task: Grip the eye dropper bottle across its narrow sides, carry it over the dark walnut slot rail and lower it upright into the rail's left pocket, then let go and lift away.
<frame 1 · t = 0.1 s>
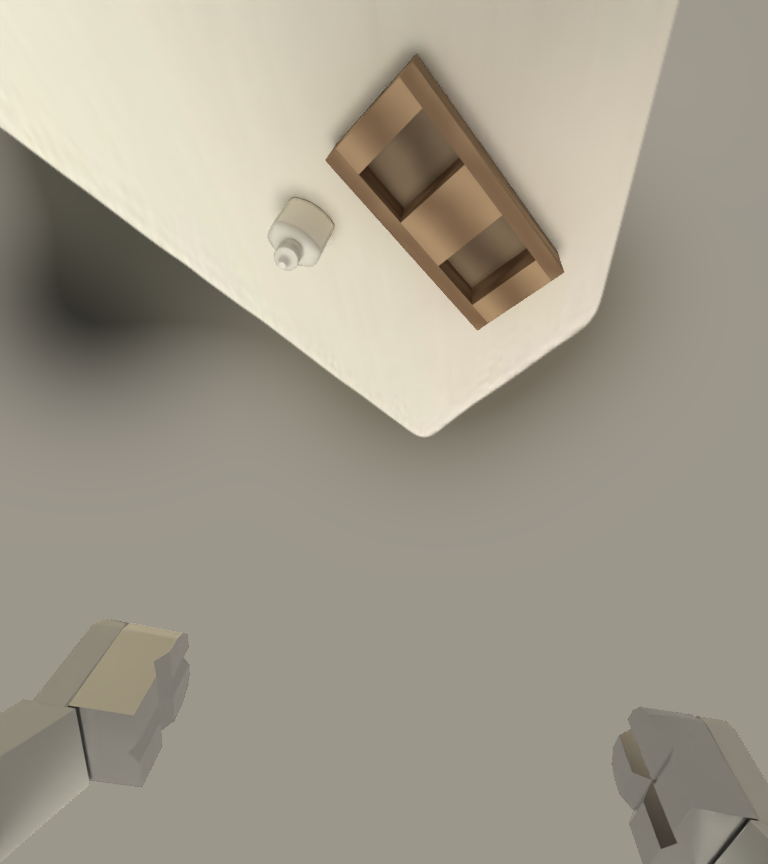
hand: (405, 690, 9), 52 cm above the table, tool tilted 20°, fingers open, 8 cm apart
walnut slot rail: (451, 201, 52), on the table
eye dropper bottle: (310, 217, 55), on the table
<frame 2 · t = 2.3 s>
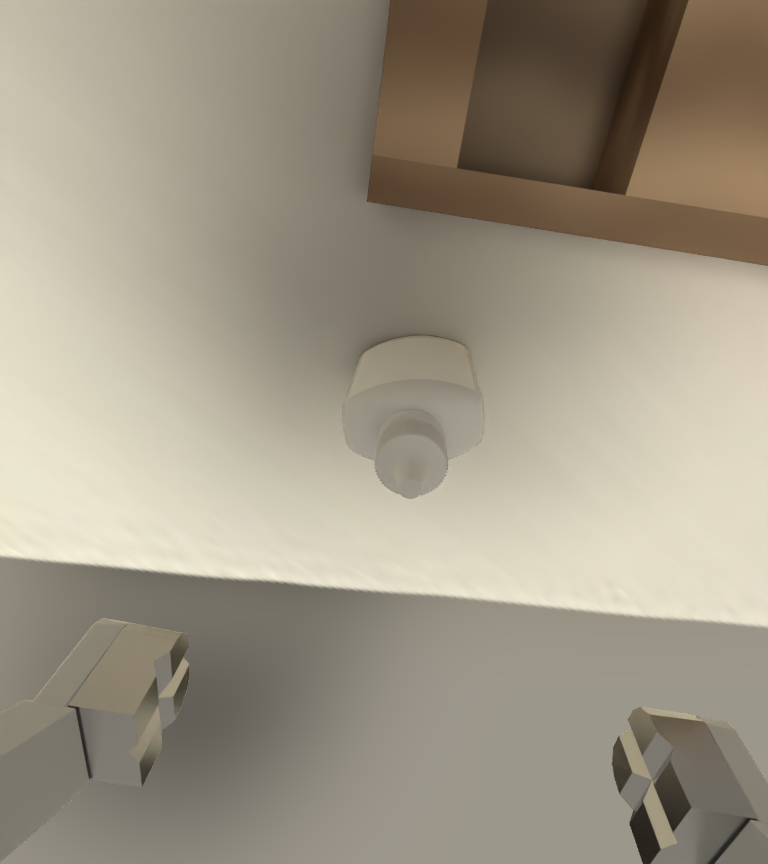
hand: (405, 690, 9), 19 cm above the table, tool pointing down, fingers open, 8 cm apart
walnut slot rail: (687, 99, 20), on the table
eye dropper bottle: (415, 365, 26), on the table
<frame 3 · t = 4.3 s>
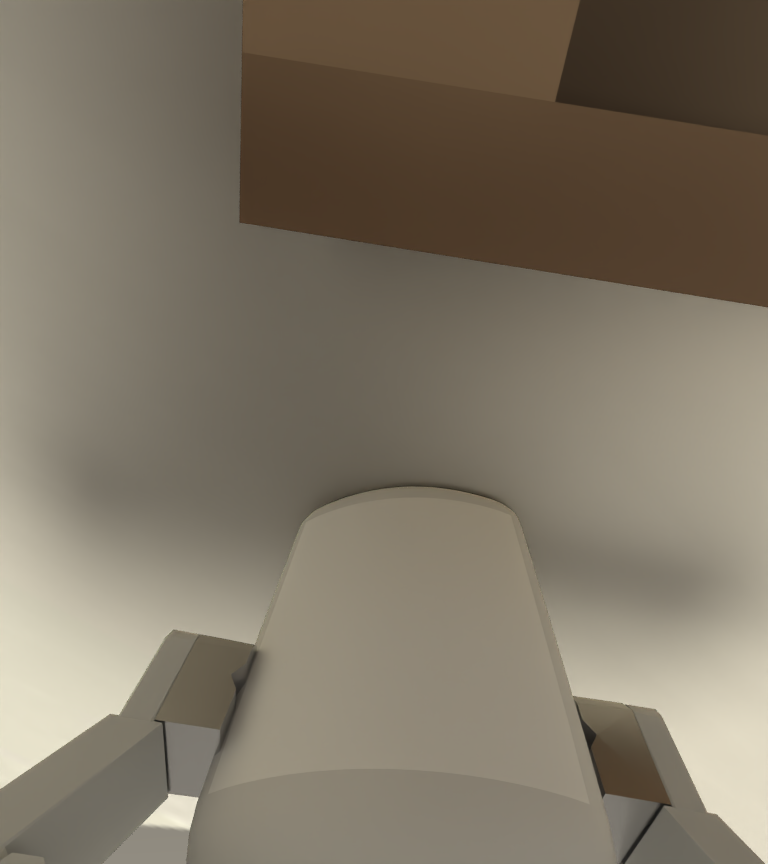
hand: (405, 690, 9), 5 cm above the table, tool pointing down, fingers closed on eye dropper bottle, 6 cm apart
eye dropper bottle: (410, 533, 13), on the table, touching gripper
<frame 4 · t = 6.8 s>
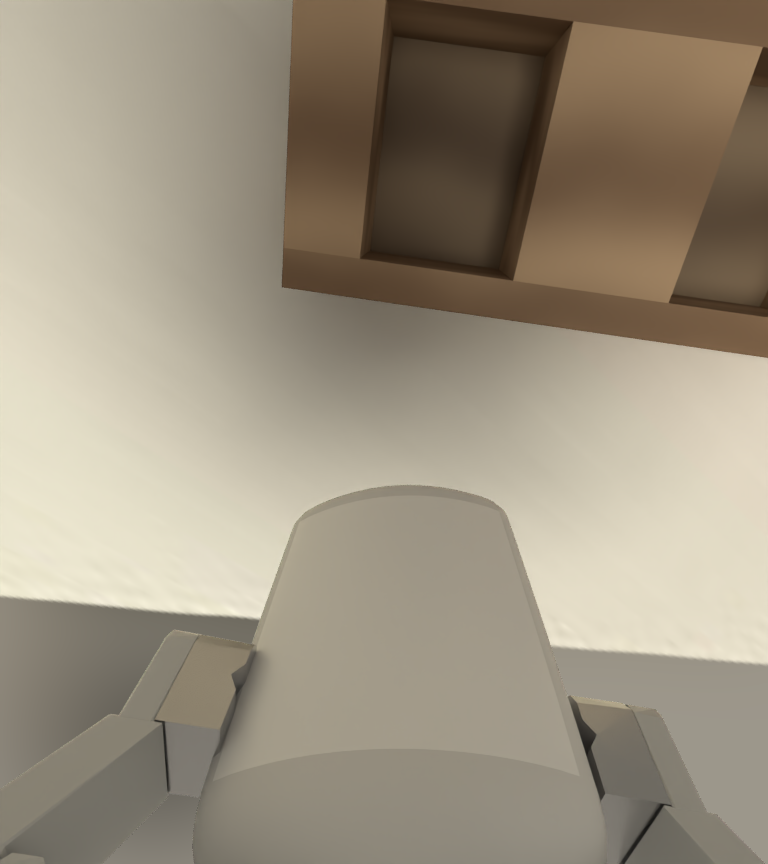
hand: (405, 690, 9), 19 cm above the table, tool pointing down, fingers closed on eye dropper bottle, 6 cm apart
walnut slot rail: (583, 182, 22), on the table
eye dropper bottle: (401, 531, 13), point 14 cm above the table, touching gripper
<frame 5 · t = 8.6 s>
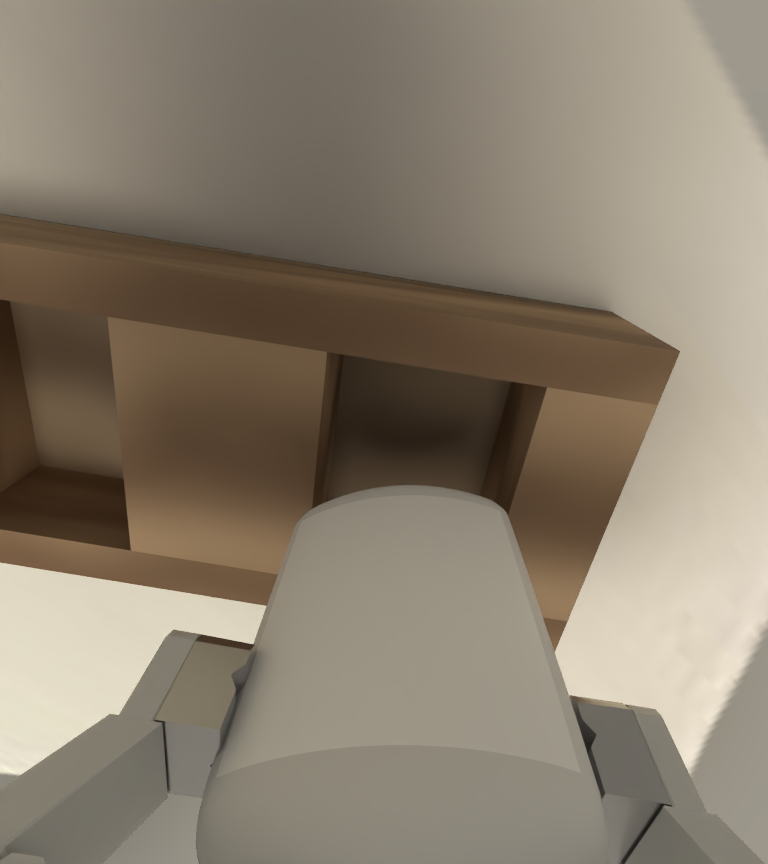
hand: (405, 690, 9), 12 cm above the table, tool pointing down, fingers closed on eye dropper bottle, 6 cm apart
walnut slot rail: (265, 402, 19), on the table
eye dropper bottle: (402, 531, 14), point 7 cm above the table, touching gripper
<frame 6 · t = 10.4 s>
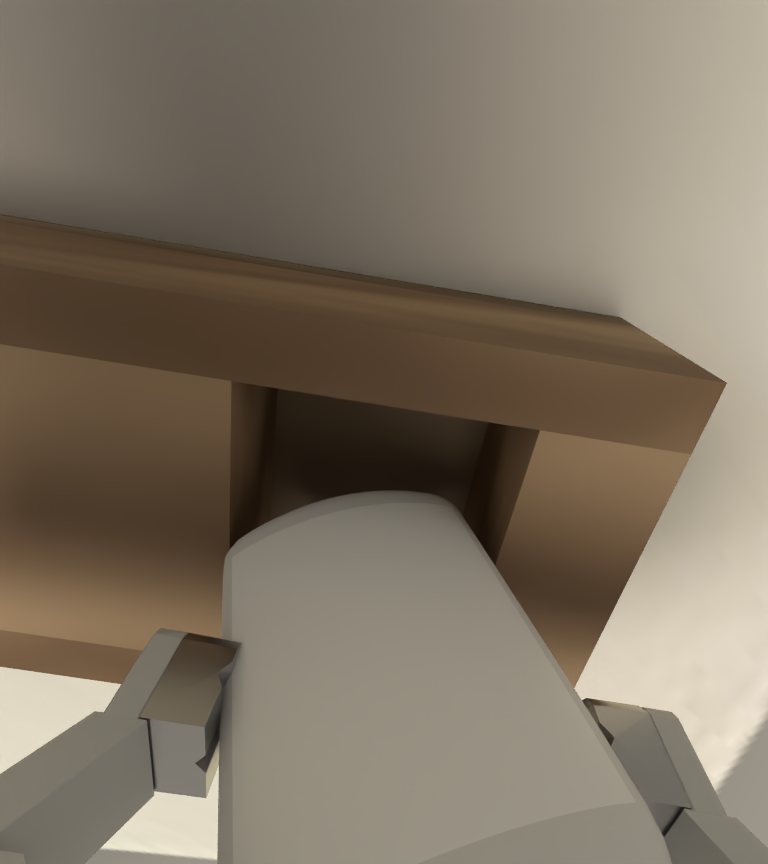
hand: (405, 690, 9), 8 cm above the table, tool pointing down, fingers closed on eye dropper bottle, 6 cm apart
walnut slot rail: (187, 427, 15), on the table
eye dropper bottle: (344, 541, 12), point 4 cm above the table, touching gripper, walnut slot rail
when the fingers open (8 cm above the table, at t = 10.4 s): eye dropper bottle drops 3 cm, resting on walnut slot rail.
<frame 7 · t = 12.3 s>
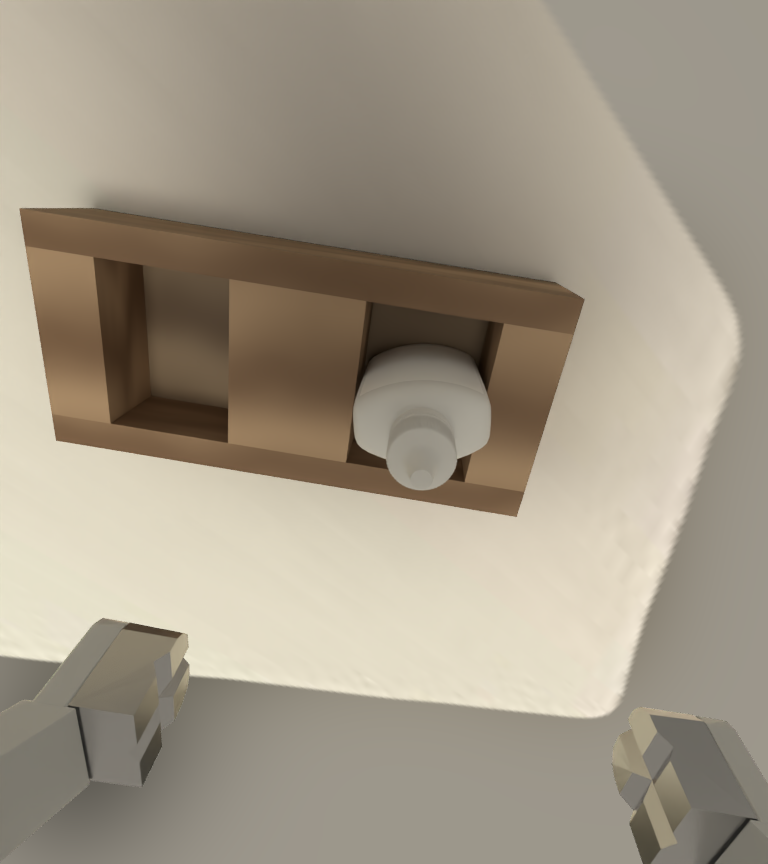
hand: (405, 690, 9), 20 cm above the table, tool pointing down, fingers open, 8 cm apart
walnut slot rail: (314, 349, 27), on the table
eye dropper bottle: (421, 373, 26), point 1 cm above the table, touching walnut slot rail
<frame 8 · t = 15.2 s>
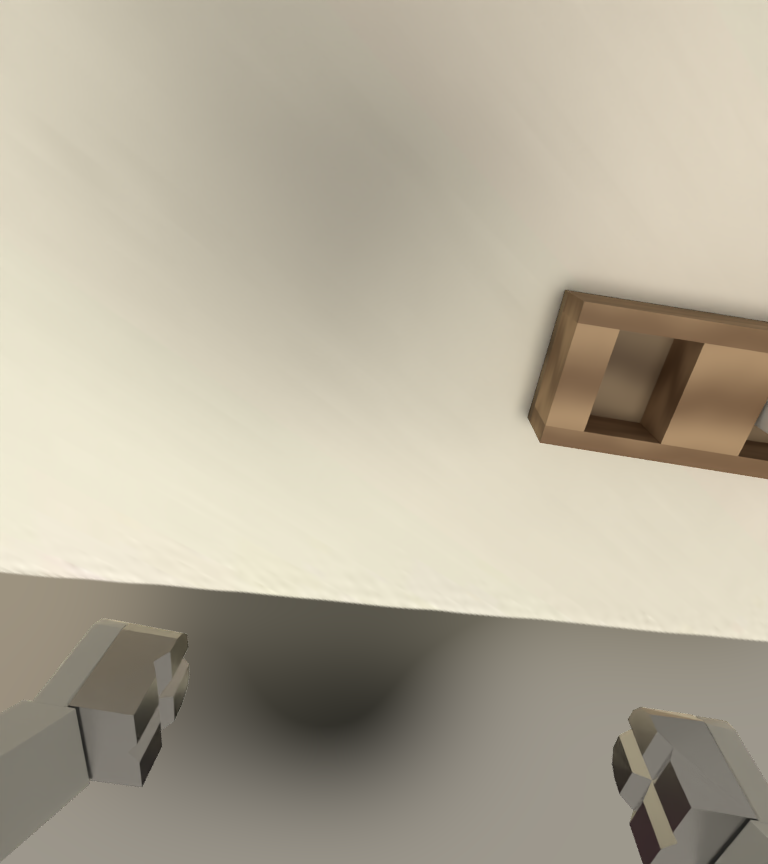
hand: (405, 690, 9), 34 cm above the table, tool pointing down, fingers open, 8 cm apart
walnut slot rail: (688, 380, 40), on the table
eye dropper bottle: (767, 396, 40), point 1 cm above the table, touching walnut slot rail
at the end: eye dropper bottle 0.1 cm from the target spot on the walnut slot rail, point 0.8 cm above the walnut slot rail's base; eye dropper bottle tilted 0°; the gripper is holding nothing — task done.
